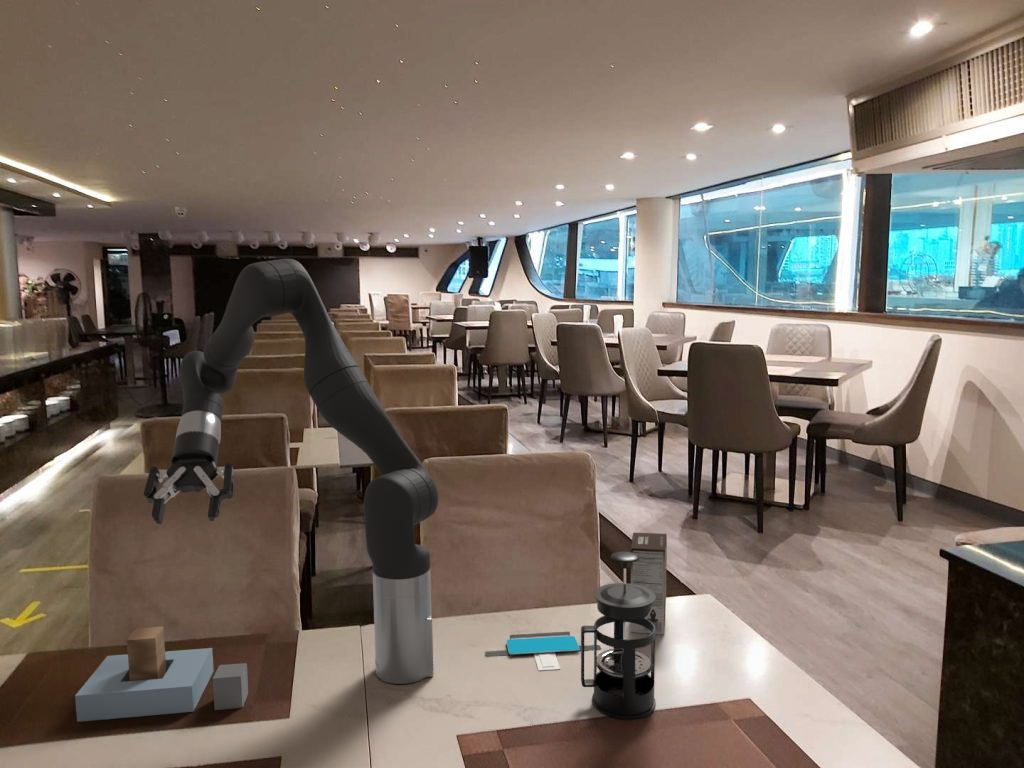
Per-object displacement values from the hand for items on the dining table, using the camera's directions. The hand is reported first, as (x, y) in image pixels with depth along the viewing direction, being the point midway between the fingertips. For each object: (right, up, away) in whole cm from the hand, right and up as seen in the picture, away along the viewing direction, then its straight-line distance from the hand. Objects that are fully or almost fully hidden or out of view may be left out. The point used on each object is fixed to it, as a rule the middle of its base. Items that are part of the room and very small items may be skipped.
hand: (184, 520), depth 125 cm
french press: (+72, -25, -15) cm, 77 cm away
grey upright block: (+13, -25, -13) cm, 31 cm away
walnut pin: (0, -25, -11) cm, 27 cm away
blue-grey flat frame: (0, -25, -11) cm, 27 cm away
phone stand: (+61, -24, +1) cm, 66 cm away
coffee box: (+81, -22, +12) cm, 85 cm away
